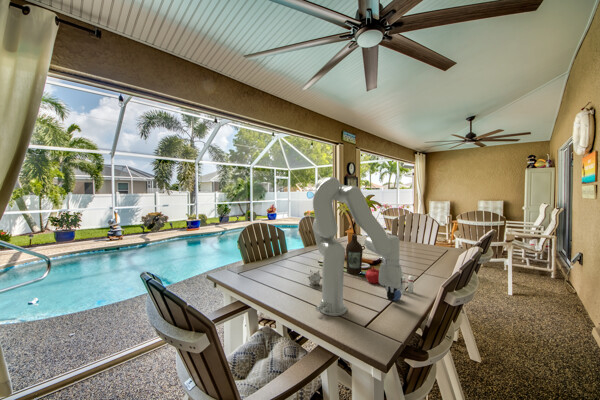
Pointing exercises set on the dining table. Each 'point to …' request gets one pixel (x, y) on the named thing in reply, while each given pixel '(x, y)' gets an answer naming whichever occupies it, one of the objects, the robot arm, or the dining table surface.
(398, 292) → the ball
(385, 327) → the dining table surface
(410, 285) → the pin
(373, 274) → the pomegranate
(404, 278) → the front pin
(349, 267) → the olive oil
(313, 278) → the game die
